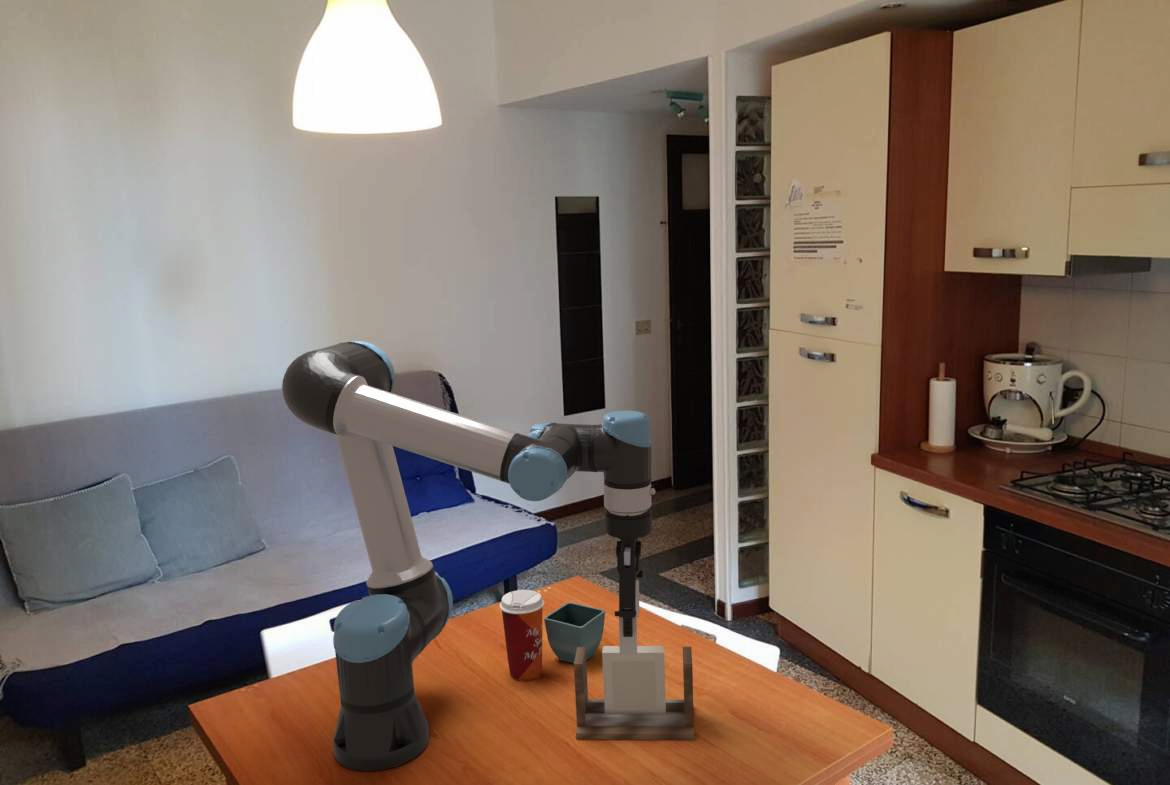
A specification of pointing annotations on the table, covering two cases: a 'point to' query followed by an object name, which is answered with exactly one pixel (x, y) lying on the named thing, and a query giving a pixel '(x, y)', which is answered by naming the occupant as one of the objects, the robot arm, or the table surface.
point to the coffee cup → (523, 633)
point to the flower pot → (574, 630)
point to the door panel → (634, 680)
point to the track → (633, 725)
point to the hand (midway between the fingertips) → (629, 633)
